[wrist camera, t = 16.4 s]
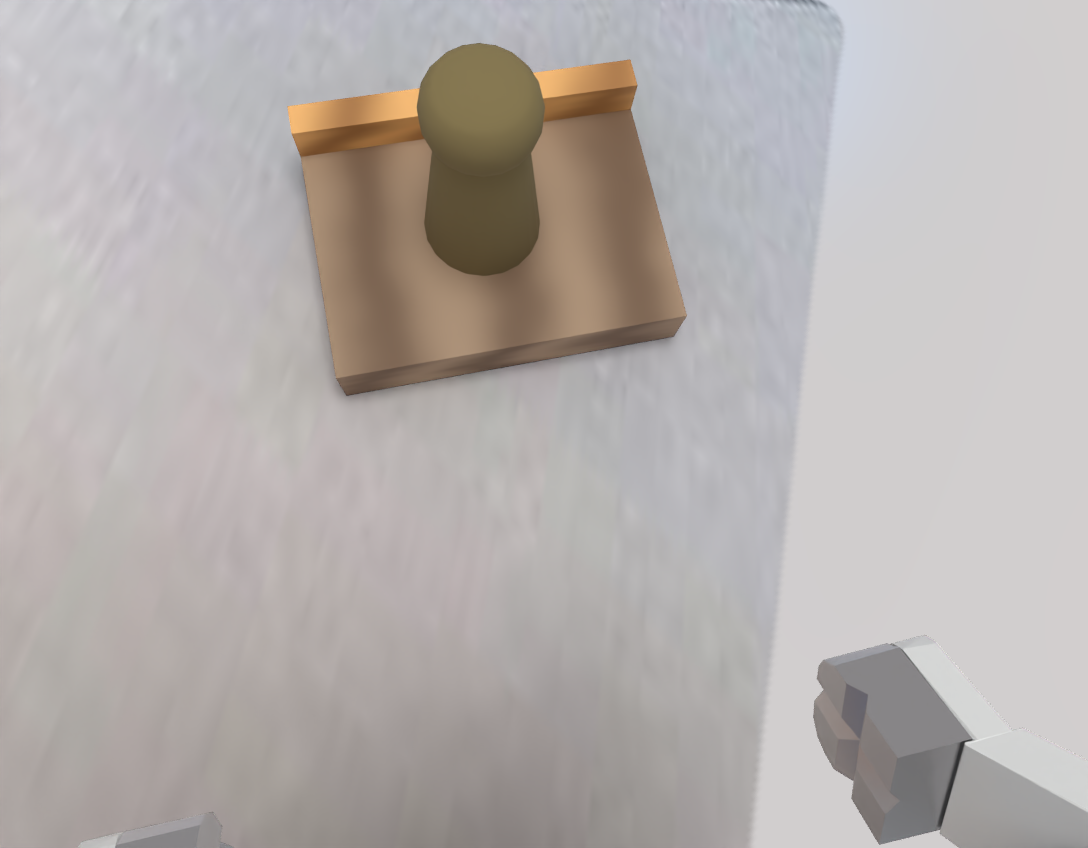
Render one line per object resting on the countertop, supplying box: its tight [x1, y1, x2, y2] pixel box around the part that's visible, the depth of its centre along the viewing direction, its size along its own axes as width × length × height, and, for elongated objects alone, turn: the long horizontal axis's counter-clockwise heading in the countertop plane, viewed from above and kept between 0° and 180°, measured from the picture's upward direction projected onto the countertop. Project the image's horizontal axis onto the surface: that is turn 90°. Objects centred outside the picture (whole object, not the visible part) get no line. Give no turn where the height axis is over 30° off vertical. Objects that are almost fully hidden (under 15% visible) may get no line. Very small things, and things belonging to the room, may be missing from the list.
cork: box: [417, 43, 545, 276], centre depth 36 cm, size 6×6×11 cm
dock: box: [287, 60, 687, 395], centre depth 42 cm, size 18×14×5 cm
